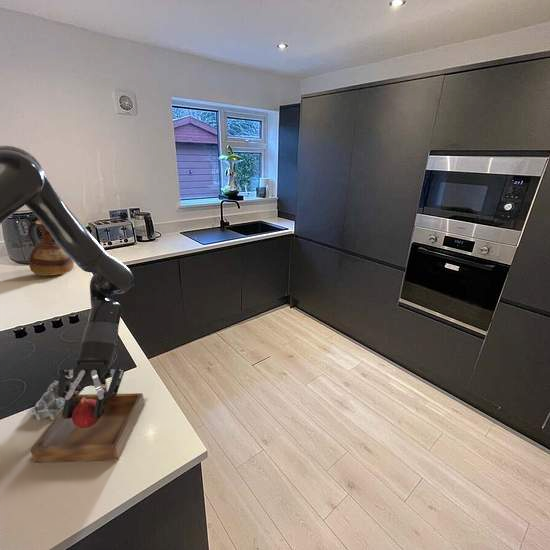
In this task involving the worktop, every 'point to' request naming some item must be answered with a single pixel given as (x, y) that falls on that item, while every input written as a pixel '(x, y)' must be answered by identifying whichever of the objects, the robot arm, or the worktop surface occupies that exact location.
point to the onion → (84, 413)
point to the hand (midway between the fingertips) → (82, 417)
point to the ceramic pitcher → (47, 253)
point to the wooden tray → (91, 433)
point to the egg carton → (49, 403)
